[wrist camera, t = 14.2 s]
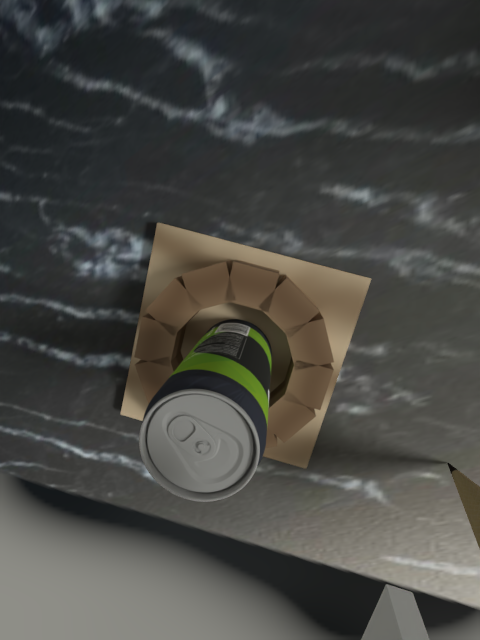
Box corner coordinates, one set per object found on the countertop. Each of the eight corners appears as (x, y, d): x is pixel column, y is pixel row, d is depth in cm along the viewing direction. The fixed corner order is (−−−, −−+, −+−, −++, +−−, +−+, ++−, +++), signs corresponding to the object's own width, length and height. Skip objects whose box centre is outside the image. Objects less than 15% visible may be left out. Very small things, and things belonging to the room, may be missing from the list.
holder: (161, 223, 30) (143, 220, 27) (368, 277, 30) (381, 282, 26) (124, 409, 35) (105, 430, 31) (305, 462, 34) (308, 490, 30)
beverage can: (186, 351, 32) (107, 445, 17) (234, 302, 30) (192, 357, 16) (238, 399, 32) (203, 530, 17) (287, 352, 31) (294, 451, 16)
